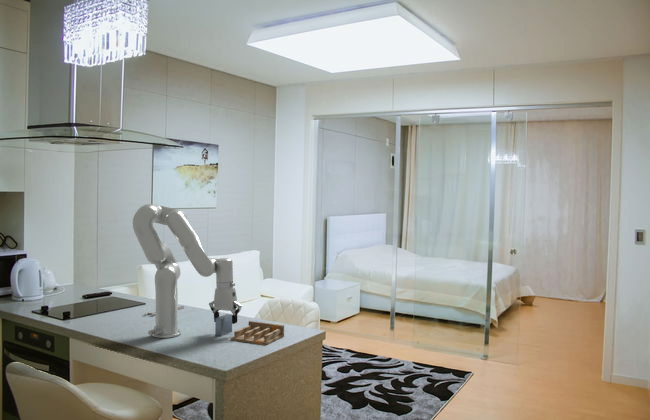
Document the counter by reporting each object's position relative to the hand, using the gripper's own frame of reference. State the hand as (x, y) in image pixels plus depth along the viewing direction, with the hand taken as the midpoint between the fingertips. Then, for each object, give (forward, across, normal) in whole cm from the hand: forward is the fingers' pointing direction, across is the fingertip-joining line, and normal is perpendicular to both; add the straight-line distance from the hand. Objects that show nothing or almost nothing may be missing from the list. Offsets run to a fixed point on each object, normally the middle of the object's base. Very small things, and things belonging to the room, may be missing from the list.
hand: (225, 322), depth 235 cm
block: (+5, +1, 0) cm, 5 cm away
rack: (+6, -17, 0) cm, 18 cm away
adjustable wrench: (+5, +53, -22) cm, 58 cm away
